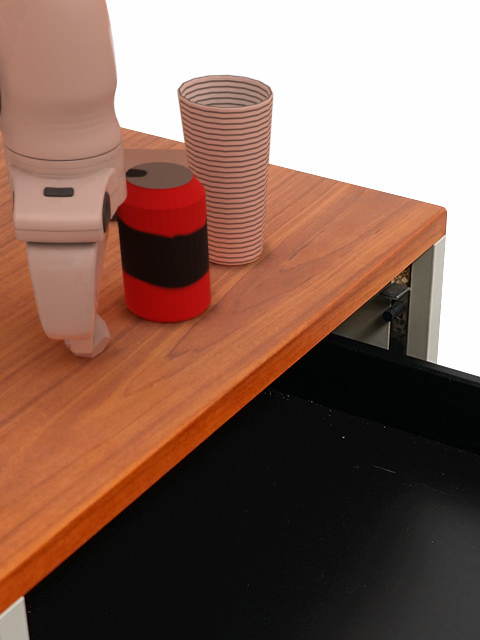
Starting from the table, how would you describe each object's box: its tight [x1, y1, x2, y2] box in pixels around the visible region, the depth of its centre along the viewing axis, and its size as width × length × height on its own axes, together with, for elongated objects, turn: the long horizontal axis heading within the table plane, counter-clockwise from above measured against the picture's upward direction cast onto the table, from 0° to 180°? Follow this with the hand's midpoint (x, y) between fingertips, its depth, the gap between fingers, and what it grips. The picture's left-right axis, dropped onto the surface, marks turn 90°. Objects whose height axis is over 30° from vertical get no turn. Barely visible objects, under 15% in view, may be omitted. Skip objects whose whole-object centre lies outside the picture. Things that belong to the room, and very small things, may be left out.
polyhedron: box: [63, 313, 112, 359], centre depth 117 cm, size 4×4×3 cm
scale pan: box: [123, 148, 188, 174], centre depth 140 cm, size 8×8×1 cm
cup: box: [176, 74, 274, 266], centre depth 129 cm, size 8×8×16 cm
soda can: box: [117, 162, 212, 323], centre depth 121 cm, size 8×8×12 cm
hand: (85, 334), depth 116 cm, fingers closed on polyhedron, 4 cm apart
